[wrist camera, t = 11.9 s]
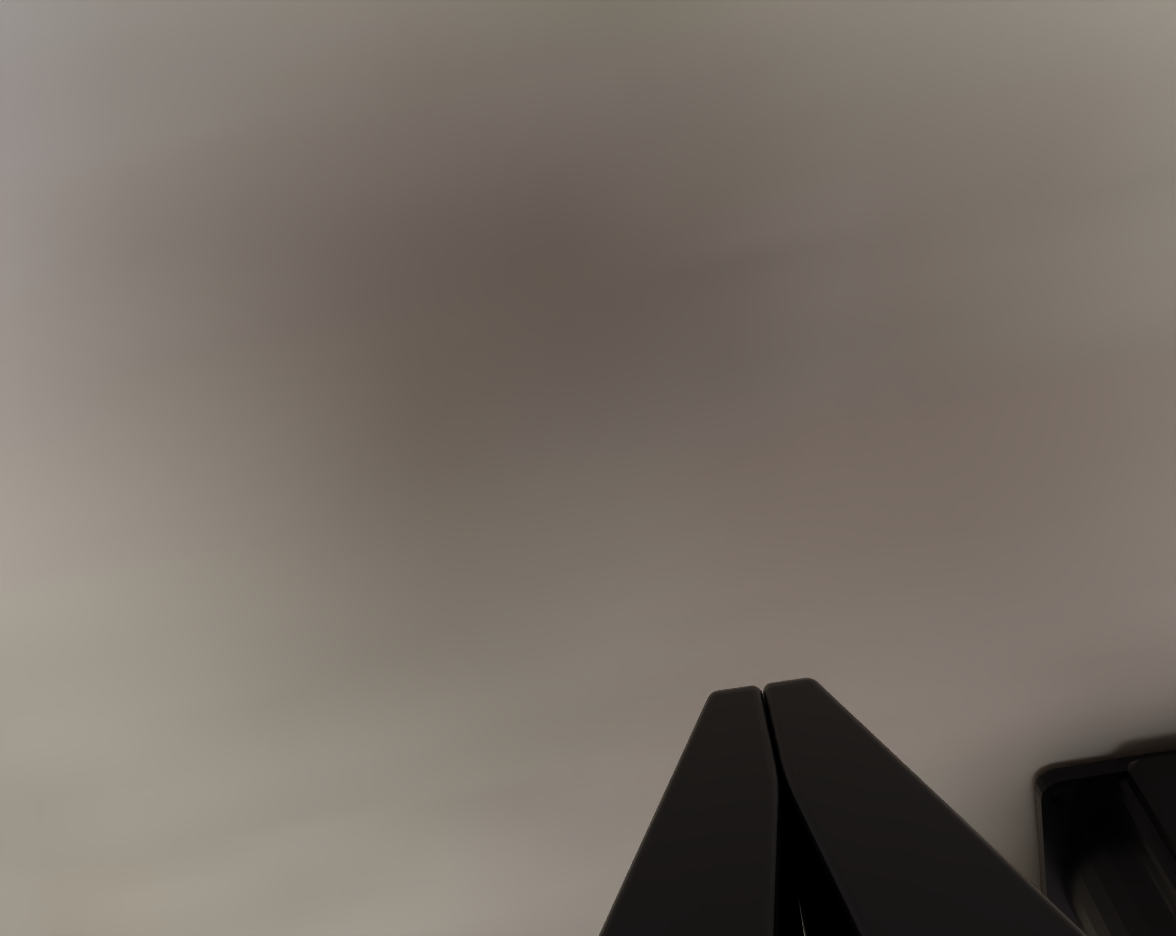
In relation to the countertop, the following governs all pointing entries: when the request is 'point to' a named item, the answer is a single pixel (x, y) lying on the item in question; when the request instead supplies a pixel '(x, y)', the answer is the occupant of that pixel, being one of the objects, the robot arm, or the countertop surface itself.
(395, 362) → the countertop surface
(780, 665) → the countertop surface
